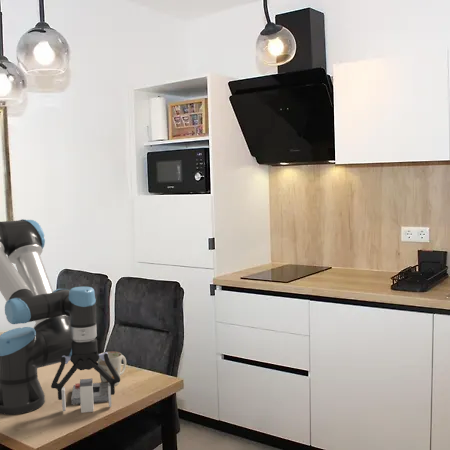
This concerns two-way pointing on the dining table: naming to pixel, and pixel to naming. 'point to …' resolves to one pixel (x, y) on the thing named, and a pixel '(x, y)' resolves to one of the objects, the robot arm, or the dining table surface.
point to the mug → (116, 361)
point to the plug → (86, 395)
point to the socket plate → (98, 393)
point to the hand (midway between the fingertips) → (87, 407)
